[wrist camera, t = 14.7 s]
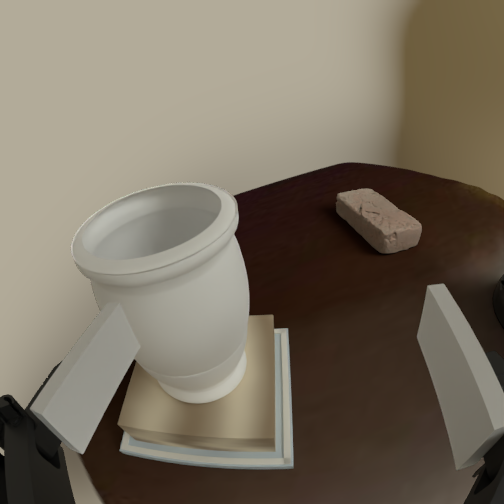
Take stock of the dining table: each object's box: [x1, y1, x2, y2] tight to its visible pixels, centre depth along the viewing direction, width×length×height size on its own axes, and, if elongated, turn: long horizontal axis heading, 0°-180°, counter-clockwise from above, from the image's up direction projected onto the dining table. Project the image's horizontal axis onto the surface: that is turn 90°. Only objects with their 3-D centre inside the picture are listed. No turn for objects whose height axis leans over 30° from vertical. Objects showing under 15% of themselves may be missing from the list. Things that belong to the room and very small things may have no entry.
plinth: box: [117, 315, 276, 452], centre depth 26 cm, size 13×13×4 cm
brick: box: [336, 189, 422, 254], centre depth 49 cm, size 17×8×5 cm, turn 15°
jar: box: [71, 182, 249, 404], centre depth 21 cm, size 11×10×15 cm
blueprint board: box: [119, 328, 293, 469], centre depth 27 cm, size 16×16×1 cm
